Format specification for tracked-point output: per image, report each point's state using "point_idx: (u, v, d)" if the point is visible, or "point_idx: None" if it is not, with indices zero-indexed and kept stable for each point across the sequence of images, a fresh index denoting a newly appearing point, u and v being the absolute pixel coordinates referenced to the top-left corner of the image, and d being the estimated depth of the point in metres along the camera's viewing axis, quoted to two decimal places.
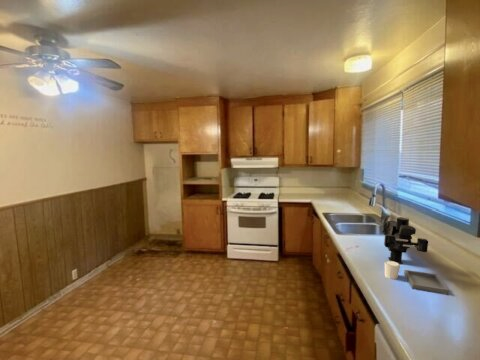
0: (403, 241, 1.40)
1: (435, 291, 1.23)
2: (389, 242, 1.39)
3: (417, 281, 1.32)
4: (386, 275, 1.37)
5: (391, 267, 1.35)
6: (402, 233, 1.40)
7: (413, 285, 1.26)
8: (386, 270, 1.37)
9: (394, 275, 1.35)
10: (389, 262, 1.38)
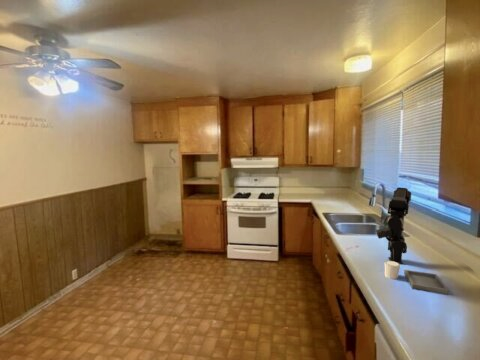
0: None
1: (435, 291, 1.23)
2: None
3: (417, 281, 1.32)
4: (386, 275, 1.37)
5: (391, 267, 1.35)
6: None
7: (413, 285, 1.26)
8: (386, 270, 1.37)
9: (394, 275, 1.35)
10: (389, 262, 1.38)
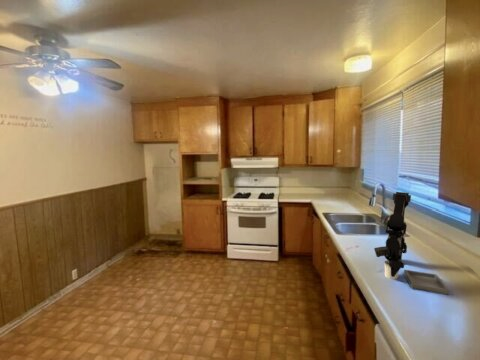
0: None
1: (435, 291, 1.23)
2: None
3: (417, 281, 1.32)
4: (386, 275, 1.37)
5: None
6: None
7: (413, 285, 1.26)
8: (386, 270, 1.37)
9: None
10: None
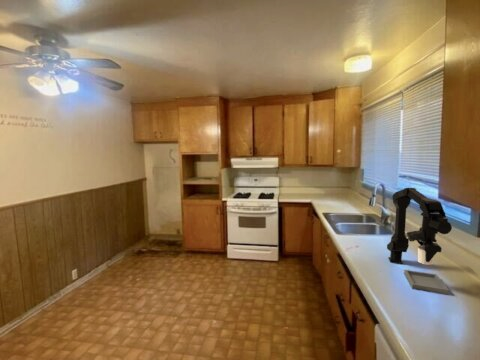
0: None
1: (435, 291, 1.23)
2: None
3: (417, 281, 1.32)
4: (420, 261, 1.30)
5: None
6: None
7: (413, 285, 1.26)
8: (420, 255, 1.29)
9: None
10: None
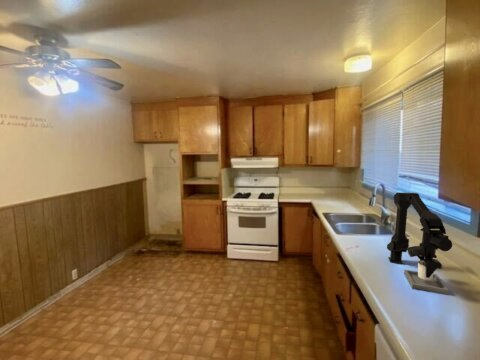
0: None
1: (435, 291, 1.23)
2: None
3: (417, 281, 1.32)
4: (420, 276, 1.31)
5: None
6: None
7: (413, 285, 1.26)
8: (420, 271, 1.30)
9: None
10: None
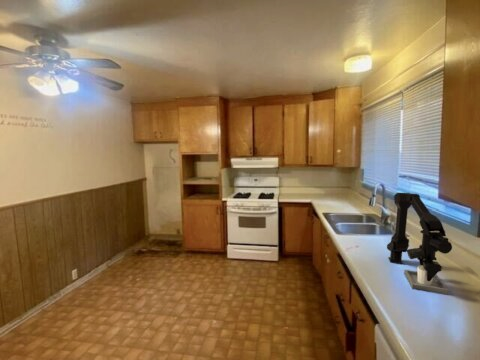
0: None
1: (435, 291, 1.23)
2: None
3: (417, 281, 1.32)
4: (420, 281, 1.31)
5: (425, 272, 1.28)
6: None
7: (413, 285, 1.26)
8: (420, 275, 1.31)
9: (429, 281, 1.29)
10: (422, 267, 1.32)
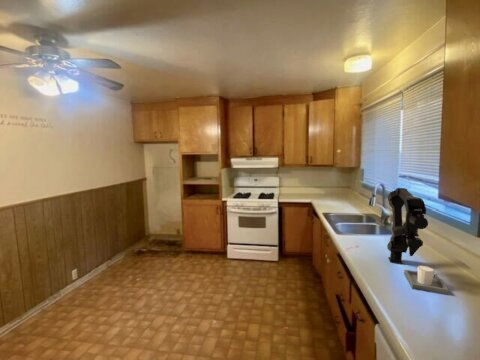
0: None
1: (435, 291, 1.23)
2: None
3: (417, 281, 1.32)
4: (420, 281, 1.31)
5: (426, 272, 1.28)
6: None
7: (413, 285, 1.26)
8: (420, 275, 1.31)
9: (429, 281, 1.29)
10: (422, 267, 1.32)
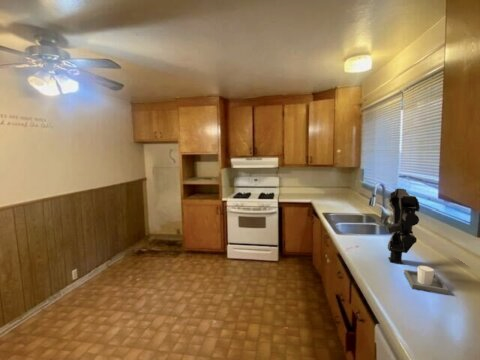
0: None
1: (435, 291, 1.23)
2: None
3: (417, 281, 1.32)
4: (420, 281, 1.31)
5: (426, 272, 1.28)
6: None
7: (413, 285, 1.26)
8: (420, 275, 1.31)
9: (429, 281, 1.29)
10: (422, 267, 1.32)
